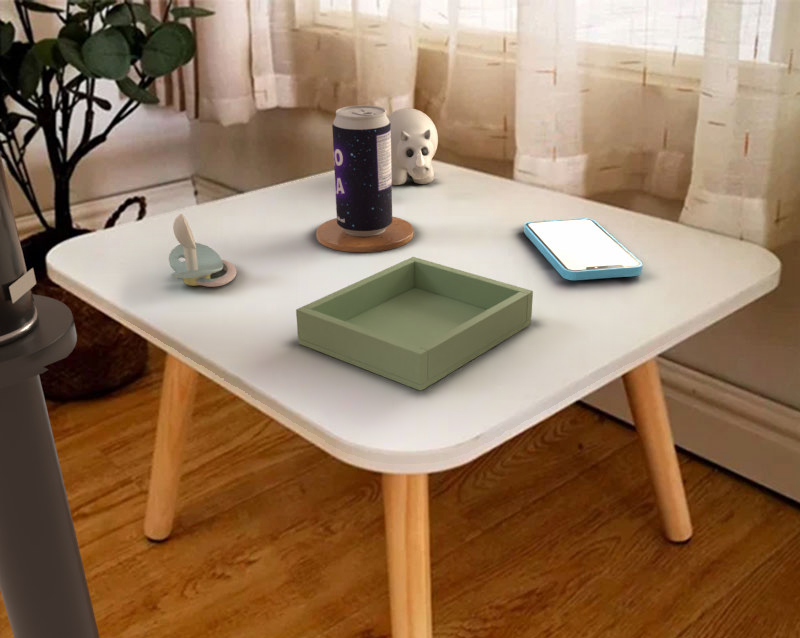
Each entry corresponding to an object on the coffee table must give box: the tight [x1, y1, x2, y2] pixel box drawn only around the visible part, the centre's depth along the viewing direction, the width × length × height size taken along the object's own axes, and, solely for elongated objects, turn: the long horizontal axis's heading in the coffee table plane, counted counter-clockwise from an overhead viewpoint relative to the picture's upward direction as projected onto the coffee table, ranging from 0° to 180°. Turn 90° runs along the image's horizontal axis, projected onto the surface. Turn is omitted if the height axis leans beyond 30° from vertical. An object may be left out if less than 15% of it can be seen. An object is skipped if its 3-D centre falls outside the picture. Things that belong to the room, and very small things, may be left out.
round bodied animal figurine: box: [386, 107, 439, 186], centre depth 110 cm, size 7×12×8 cm, turn 8°
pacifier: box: [168, 213, 237, 288], centre depth 86 cm, size 7×6×6 cm
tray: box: [295, 256, 534, 392], centre depth 76 cm, size 15×13×3 cm
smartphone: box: [523, 217, 644, 281], centre depth 92 cm, size 8×1×15 cm
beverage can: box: [331, 104, 393, 237], centre depth 94 cm, size 6×6×12 cm
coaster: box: [316, 216, 414, 253], centre depth 97 cm, size 10×10×1 cm
